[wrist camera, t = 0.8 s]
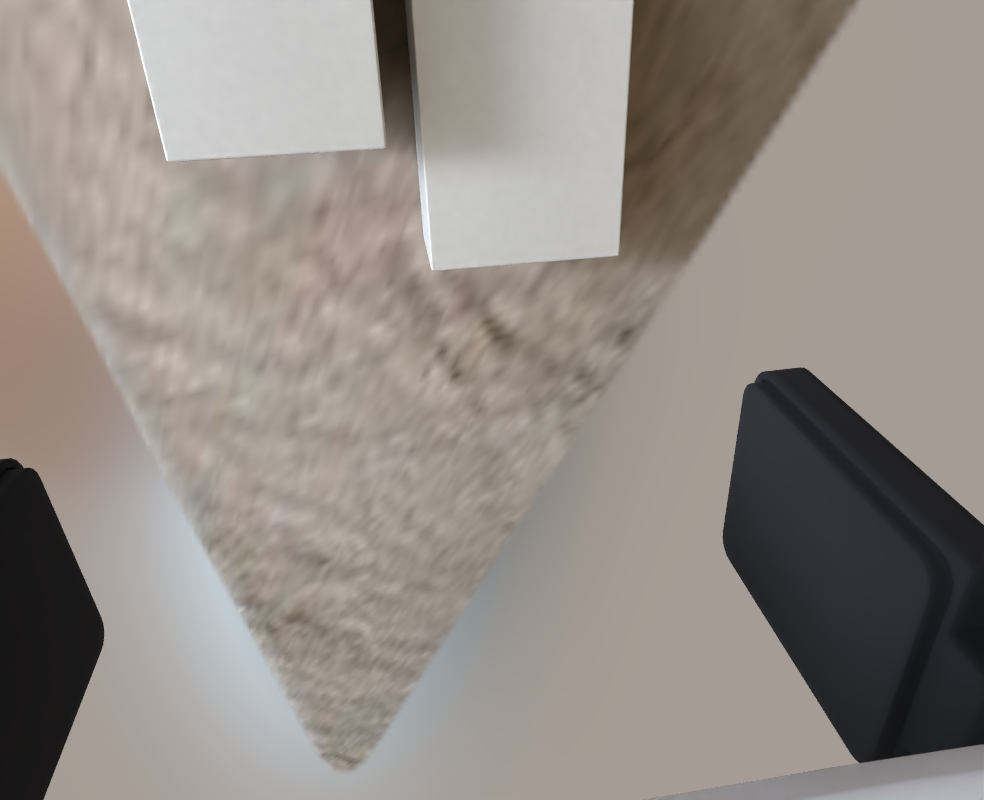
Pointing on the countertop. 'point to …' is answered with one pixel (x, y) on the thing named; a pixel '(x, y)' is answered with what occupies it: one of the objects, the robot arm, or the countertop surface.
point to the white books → (520, 127)
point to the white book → (261, 76)
